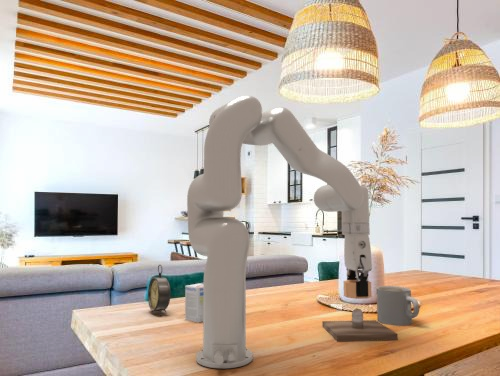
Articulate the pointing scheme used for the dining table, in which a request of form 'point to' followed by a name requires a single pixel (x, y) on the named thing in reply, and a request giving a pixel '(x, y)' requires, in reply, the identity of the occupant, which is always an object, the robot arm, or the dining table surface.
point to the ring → (354, 289)
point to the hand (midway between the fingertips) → (357, 293)
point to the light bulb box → (194, 302)
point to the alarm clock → (159, 293)
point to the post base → (358, 329)
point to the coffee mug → (395, 305)
